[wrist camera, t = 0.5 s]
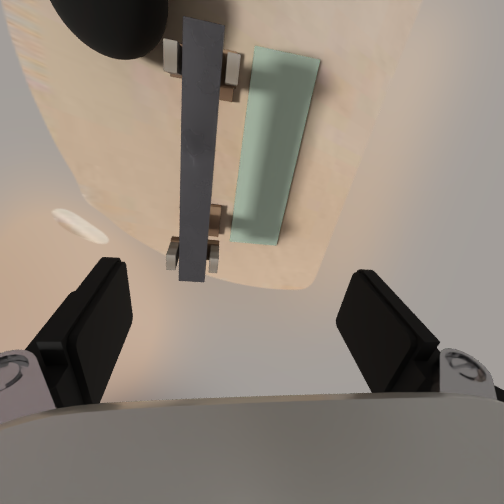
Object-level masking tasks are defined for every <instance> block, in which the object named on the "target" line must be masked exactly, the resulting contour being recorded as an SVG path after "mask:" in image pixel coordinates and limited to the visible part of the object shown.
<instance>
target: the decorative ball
mask: <svg viewBox="0 0 504 504" xmlns="http://www.w3.org/2000/svg"><path fill="white" fill-rule="evenodd" d="M50 1H51V3H52V5H53V7H54V8H55V10H56V12H57V13H58V15H59V16H60V18H61V19H62V21H63V22H64V23H65V24H66V26H67V27H68V28H69V29H70V30H71V31H72V32H73V33H74V34H75V35H76V36H77V37H78V38H79V39H80V40H81V41H82V42H83V43H85V44H86V45H87V46H89V47H90V48H92V49H93V50H95V51H97V52H99V53H101V54H103V55H105V56H108V57H111V58H115V59H121V60H130V59H136V58H139V57H142V56H144V55H146V54H147V53H149V52H150V51H151V50H152V49H154V48H155V46H156V45H157V44H158V42H159V41H160V39H161V37H162V35H163V33H164V30H165V27H166V23H167V17H168V0H50Z"/></svg>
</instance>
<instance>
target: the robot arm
mask: <svg viewBox="0 0 504 504" xmlns="http://www.w3.org/2000/svg"><path fill="white" fill-rule="evenodd" d="M132 319H133V314H132V306H131V299H130V291H129V283H128V276H127V268H126V263H125V262H121V260H120V258H112V257H102V258H101V259H100V260H99V262H98V263H97V264H96V265H95V267H94V268H93V269H92V271H91V272H90V273H89V274H88V276H87V277H86V278H85V280H84V281H83V282H82V283H81V285H80V286H79V287H78V289H77V290H76V291H74V292H71V293H70V294H69V295H68V296H67V298H66V299H65V300H64V302H63V303H62V304H61V305H60V307H59V308H58V309H57V310H56V312H55V313H54V314H53V315H52V317H51V318H50V319H49V320H48V322H47V323H46V324H45V325H44V327H43V328H42V329H41V330H40V331H39V333H38V334H37V335H36V336H35V338H34V339H33V340H32V341H31V343H30V344H29V345H28V347H27V348H26V349H25V350H12V351H6V352H3V353H0V504H504V390H502V389H500V388H498V387H496V386H494V383H493V379H492V376H491V374H490V372H489V371H488V370H487V369H486V367H485V366H483V365H482V364H481V363H480V362H479V361H478V360H476V359H475V358H473V357H472V356H470V355H468V354H466V353H464V352H462V351H459V350H456V349H451V348H447V349H443V350H442V351H441V352H440V351H439V350H438V349H437V346H438V345H439V343H440V341H439V340H438V339H437V338H436V337H435V336H434V335H433V334H432V333H431V332H430V331H429V329H427V327H426V326H425V325H424V324H423V323H422V322H421V321H420V320H419V319H418V318H417V317H416V315H415V314H413V312H412V311H411V310H410V309H409V308H408V307H407V306H406V305H405V304H404V303H403V302H402V300H401V299H399V297H398V296H397V295H396V294H395V293H394V292H393V291H392V290H391V289H390V288H389V287H388V285H387V284H386V283H385V282H384V281H383V280H382V279H381V278H380V277H379V276H378V275H377V274H376V273H375V272H374V271H373V270H362V269H360V270H358V271H357V272H356V273H354V274H353V275H352V278H351V280H350V283H349V286H348V288H347V291H346V294H345V297H344V299H343V302H342V304H341V307H340V310H339V312H338V315H337V318H336V325H337V328H338V330H339V331H340V333H341V335H342V337H343V339H344V341H345V343H346V345H347V347H348V348H349V350H350V352H351V354H352V356H353V358H354V360H355V362H356V363H357V365H358V367H359V369H360V371H361V373H362V375H363V377H364V379H365V381H366V382H367V384H368V386H369V388H370V390H371V392H372V393H350V394H316V395H283V396H253V397H225V398H201V399H200V398H198V399H175V400H173V399H172V400H151V401H133V402H132V401H131V402H114V403H100V401H101V399H102V396H103V394H104V391H105V389H106V386H107V384H108V381H109V379H110V376H111V374H112V371H113V369H114V366H115V364H116V361H117V359H118V356H119V354H120V352H121V349H122V347H123V344H124V342H125V339H126V337H127V334H128V332H129V329H130V327H131V324H132Z"/></svg>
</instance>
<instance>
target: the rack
mask: <svg viewBox="0 0 504 504" xmlns="http://www.w3.org/2000/svg"><path fill="white" fill-rule="evenodd" d="M182 49H183V44H179V43H178V42H177V41H174V40H169V39H164V38H163V61H164V71H166V72H168V73H170V76H172V77H177V78H182ZM240 57H241V55H240V54H237V52H235V51H230V50H225V49H223V59H222V71H221V84H220V96H219V100H224V101H229V102H232V98H233V88H236V85H238V76H239V67H240ZM220 215H221V205H215V204H211V208H210V221H209V233H208V236H216V237H218V234H219V225H220ZM178 259H179V237H173V236H172V238H171V243H170V245H169V248H168V251H167V254H166V269H167V270H176V266H177V262H178ZM206 260H210V261H209V273H217V269H218V260H219V241H218V240H208V246H207V258H206Z"/></svg>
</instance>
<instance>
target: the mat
mask: <svg viewBox="0 0 504 504" xmlns="http://www.w3.org/2000/svg"><path fill="white" fill-rule="evenodd" d="M319 63H320V60H319V59H314V58H309V57H305V56H300V55H296V54H291V53H287V52H282V51H277V50H273V49H268V48H264V47H259V46H255V49H254V57H253V64H252V72H251V80H250V88H249V95H248V103H247V111H246V119H245V126H244V134H243V142H242V149H241V157H240V165H239V173H238V180H237V188H236V196H235V204H234V211H233V219H232V227H231V235H230V241H231V242H242V243H253V244H264V245H275V246H276V245H277V241H278V237H279V232H280V228H281V224H282V220H283V215H284V211H285V207H286V203H287V198H288V194H289V190H290V186H291V182H292V177H293V173H294V169H295V165H296V160H297V156H298V152H299V148H300V143H301V139H302V135H303V131H304V127H305V122H306V118H307V114H308V110H309V105H310V101H311V97H312V93H313V88H314V84H315V80H316V76H317V72H318V67H319Z"/></svg>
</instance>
